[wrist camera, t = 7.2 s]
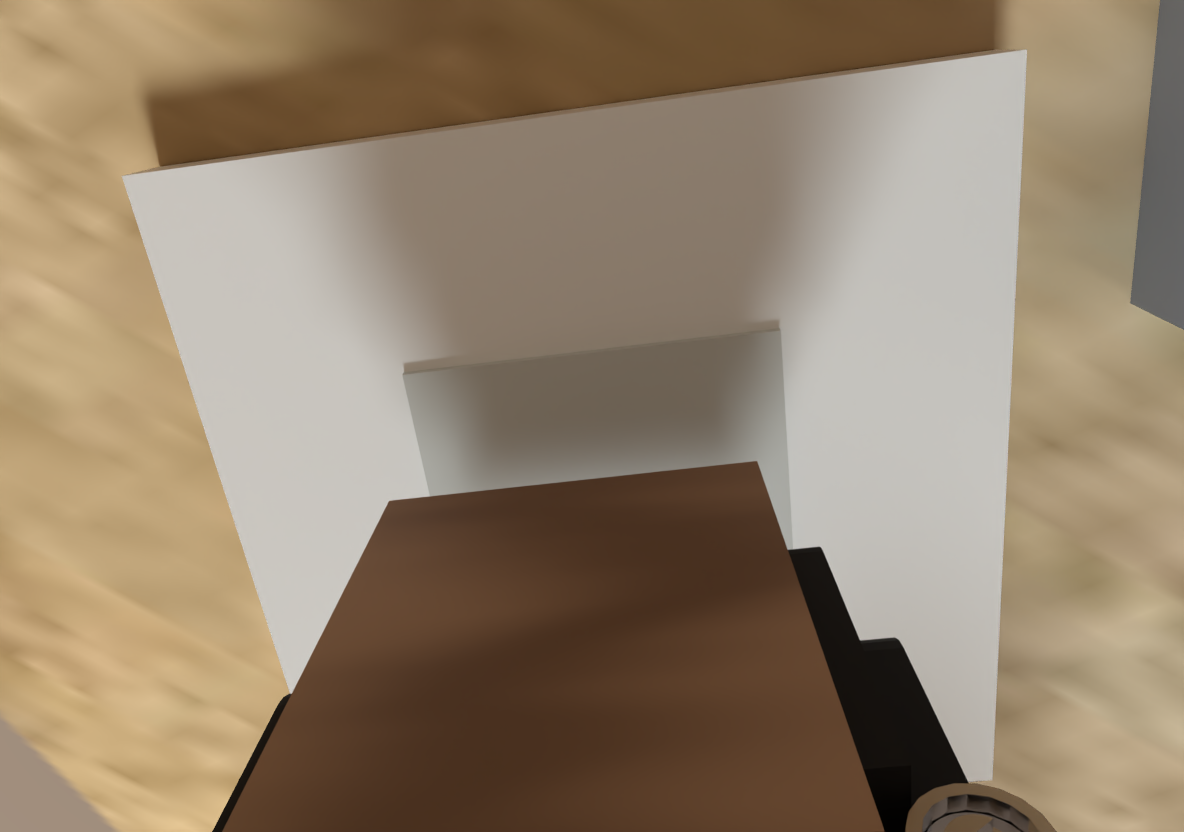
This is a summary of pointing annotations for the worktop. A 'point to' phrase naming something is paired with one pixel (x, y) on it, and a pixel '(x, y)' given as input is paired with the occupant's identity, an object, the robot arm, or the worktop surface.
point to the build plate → (629, 332)
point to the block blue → (1163, 179)
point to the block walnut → (568, 673)
